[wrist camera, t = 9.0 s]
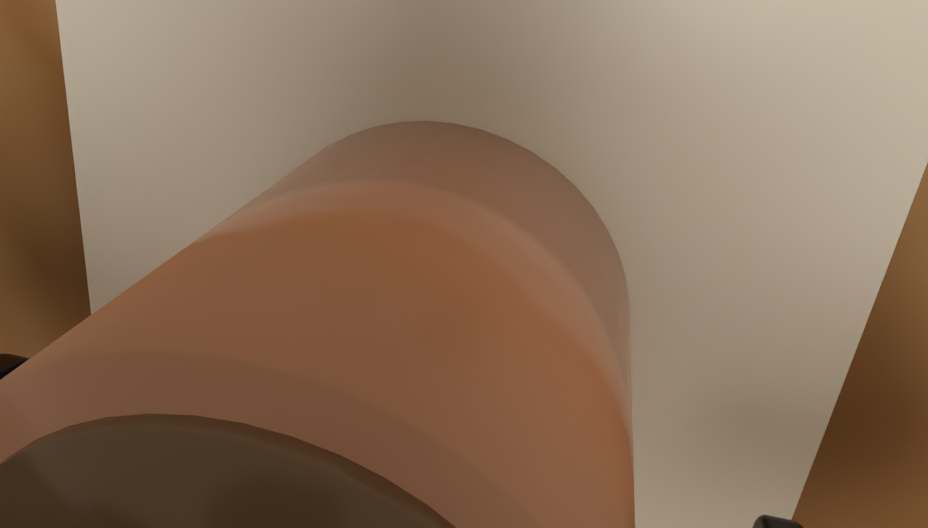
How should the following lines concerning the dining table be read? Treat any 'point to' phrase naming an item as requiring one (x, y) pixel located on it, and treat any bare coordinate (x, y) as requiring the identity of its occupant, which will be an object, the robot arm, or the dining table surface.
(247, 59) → the potting mat
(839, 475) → the dining table surface
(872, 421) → the dining table surface
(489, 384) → the terracotta pot
